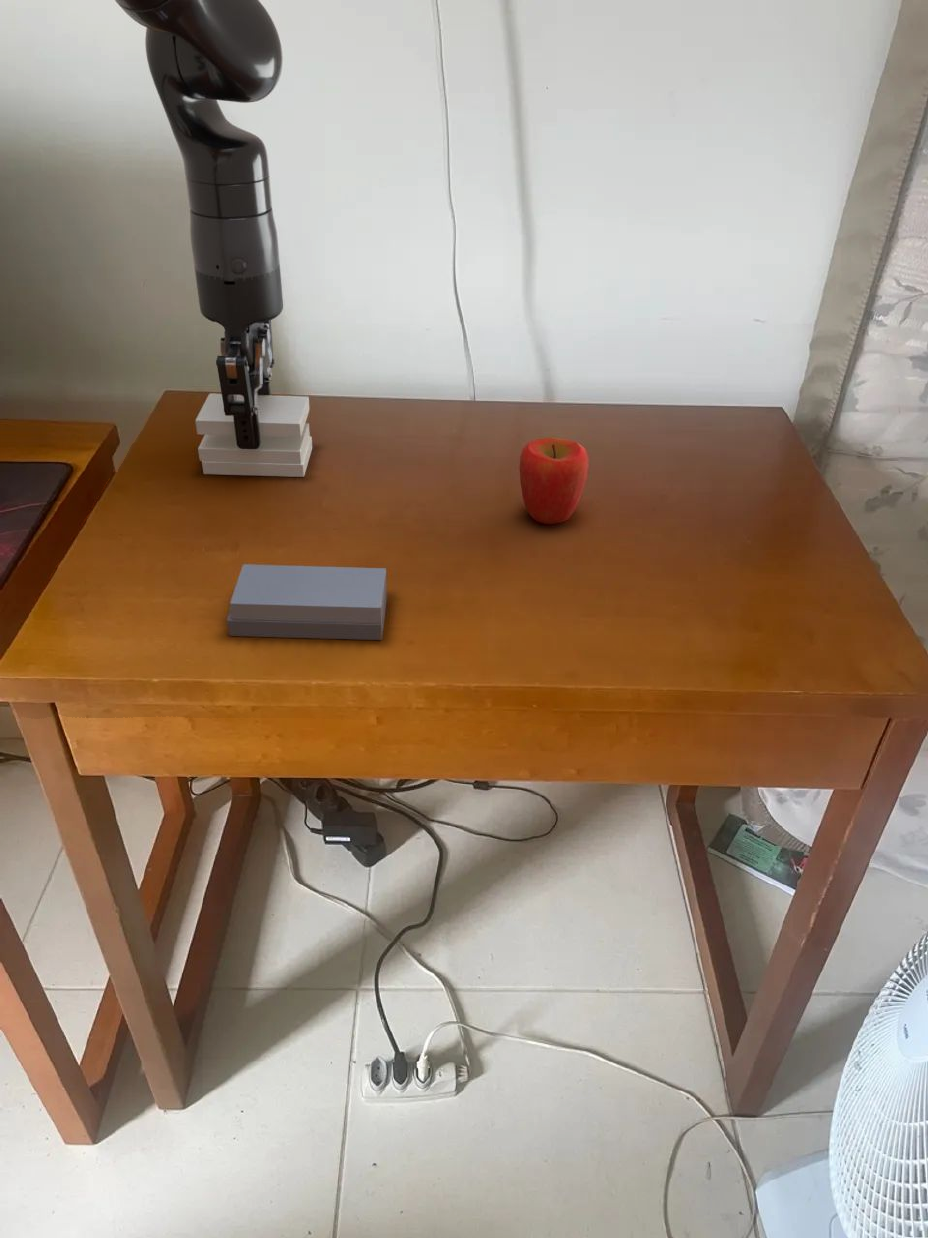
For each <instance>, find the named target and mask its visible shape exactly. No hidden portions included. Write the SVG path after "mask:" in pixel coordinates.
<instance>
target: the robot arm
mask: <svg viewBox="0 0 928 1238" xmlns="http://www.w3.org/2000/svg"><path fill="white" fill-rule="evenodd" d="M114 1H115V2H116V4H117V5H118V7H120V8H121V10H122V11H123V12H124V13H125V14H126V15H127V16H128V17H129V18H130V19H132V20H133V21H135V22H136V23H138V24H139V25H140V26H143V27H145V28H146V29H145V39H144V42H145V43H144V44H145V56H146V60H147V61H146V62H147V64H148V65H147V66H148V69H149V72H150V75H151V79H152V81H153V85H154V87H155V89H156V92H157V95H158V97H159V99H160V102H161V105H162V108H163V110H164V112H165V115H166V118H167V120H168V123H169V126H170V129H171V132H172V135H173V137H174V139H175V142H176V144H177V147H178V149H179V152H180V154H181V158H182V162H183V169H184V176H185V184H186V191H187V198H188V208H189V217H190V224H189V225H190V226H189V229H190V231H189V233H190V235H189V236H190V243H191V251H192V258H193V259H192V260H193V265H194V273H195V274H194V275H195V281H196V282H195V283H196V288H197V289H196V290H197V295H198V296H197V297H198V303H199V310H200V313H201V315H202V316H203V317H204V318H205V319H206V320H208V321H211V322H212V323H217V324H218V325H220V326H222V327H223V329H224V336H221V337H220V341H219V342H220V343H219V347H220V348H219V349H220V355H217V356H216V359H215V365H216V367H217V374H218V381H219V387H220V394H222V399H223V405H224V412H225V415H226V416H231V415H232V416H233V418H234V427H235V435H236V443H237V446H238V447H239V448H240V449H258V448H259V446H260V443H261V439H260V431H259V420H258V402H257V395H272V393H271V383H270V382H271V381H272V377H273V372H272V369H273V368H274V365H275V358H274V347H273V332H272V331H273V330H272V320H275V319H276V318H277V317H279V316H280V315H281V314H282V311H283V309H284V297H283V285H282V274H281V262H280V251H279V250H280V249H279V238H278V231H277V225H276V222H275V217H274V211H273V202H272V190H271V179H270V178H271V177H270V167H269V166H270V165H269V158H268V157H269V156H268V152H267V147H266V144H265V143H264V141H263V140H262V138H260V137H259V136H258V135H256V134H254V133H253V132H251V131H250V132H249V131H247V130H245V129H242V128H241V127H238V126H236V125H234V124H233V123H231V122H230V121H229V120H228V119H227V118H226V116H225V115H224V113H223V111H222V108H221V106H220V104H219V102H218V101H224V102H230V103H231V102H232V103H240V104H241V103H242V104H247V103H248V104H249V103H256V102H260V101H261V100H264V99H265V98H267V97H268V96H269V95H271V93H272V92H273V91H274V90H275V89H276V87H277V85H278V83H279V81H280V78H281V75H282V71H283V60H284V58H283V57H284V56H283V49H282V48H283V47H282V43H281V39H280V36H279V32H278V30H277V27H276V25H275V23H274V21H273V19H272V17H271V16H270V13H269V12H268V11H267V9H266V7H265V6H264V5H263V4H262V2H261V1H260V0H114ZM237 395H242V396H243V397H244V401H237Z"/></svg>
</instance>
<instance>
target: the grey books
mask: <svg viewBox="0 0 928 1238" xmlns="http://www.w3.org/2000/svg"><path fill="white" fill-rule="evenodd" d="M387 588H388V586H387V568H385V567H355V566H353V567H352V566H351V567H349V566H348V567H347V566H319V565H318V566H316V565H282V564H281V565H279V564H249V563H248V564H246V563H245V564H242V566H241V568H240V572H239V575H238V578H237V581H236V584H235V586H234V589H233V593H232V595H231V599H230V601H229V608H230V609H229V613H228V615H227V619H226V624H227V630H228V636H229V637H250V638H254V637H255V638H284V639H285V638H288V639H289V638H290V639H291V638H292V639H325V640H326V639H327V640H358V641H359V640H360V641H362V640H363V641H382V640H383V633H384V626H385V619H386V618H385V617H386V609H387V601H388V589H387Z"/></svg>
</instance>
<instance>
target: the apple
mask: <svg viewBox="0 0 928 1238" xmlns="http://www.w3.org/2000/svg"><path fill="white" fill-rule="evenodd" d="M589 463H590V462H589V457H588V452H587V449H586V448H585V447H584V446H583V445H581V444H580V443H578V442H577V441H574V440H571V439H565V438H561V437H560V438H559V437H543V438H538V439H535V440H531V441H530V442H528V443H527V444H525V446H524V447H523V448H522V450H521V453H520V457H519V481H520V488H521V495H522V496H521V497H522V500H523V502H524V506H525V509H526V511H527V513H528V514H529V515H530V517H531V518H532V519H533V520H534V521H536V522H537V523H540V524H544V525H556V524H561V523H564V522H566V521H568V520H569V519H570V517H571V516H572V514H573V513H574V512H575V510H576V509H577V506H578V503H579V501H580V498H581V495H582V493H583V491H584V488H585V484H586V481H587V478H588V477H587V476H588V468H589Z"/></svg>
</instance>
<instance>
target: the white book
mask: <svg viewBox="0 0 928 1238" xmlns="http://www.w3.org/2000/svg"><path fill="white" fill-rule="evenodd" d="M237 401H244V397H243V396H242V395H237ZM257 402H258V420H259V431H260V436H267V437H298V438H300V437H301V435H302V432H303V429H304V426H305V423H307V419H308V416H309V413H310V397H309V396H305V395H304V396H303V395H302V396H300V395H272V394H271V395H257ZM194 422H195V426H196V433H197V435H203V436H204V435H235V427H234V418H233V416H232V415H231V416H226V415H225V412H224V405H223V399H222V393H209V394H208V396H207V397H206V399H205V401H204V403H203V405H202V407H201V409H200V411H199V413H198V415H197V416H196V418H195V421H194ZM235 436H236V435H235Z"/></svg>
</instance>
